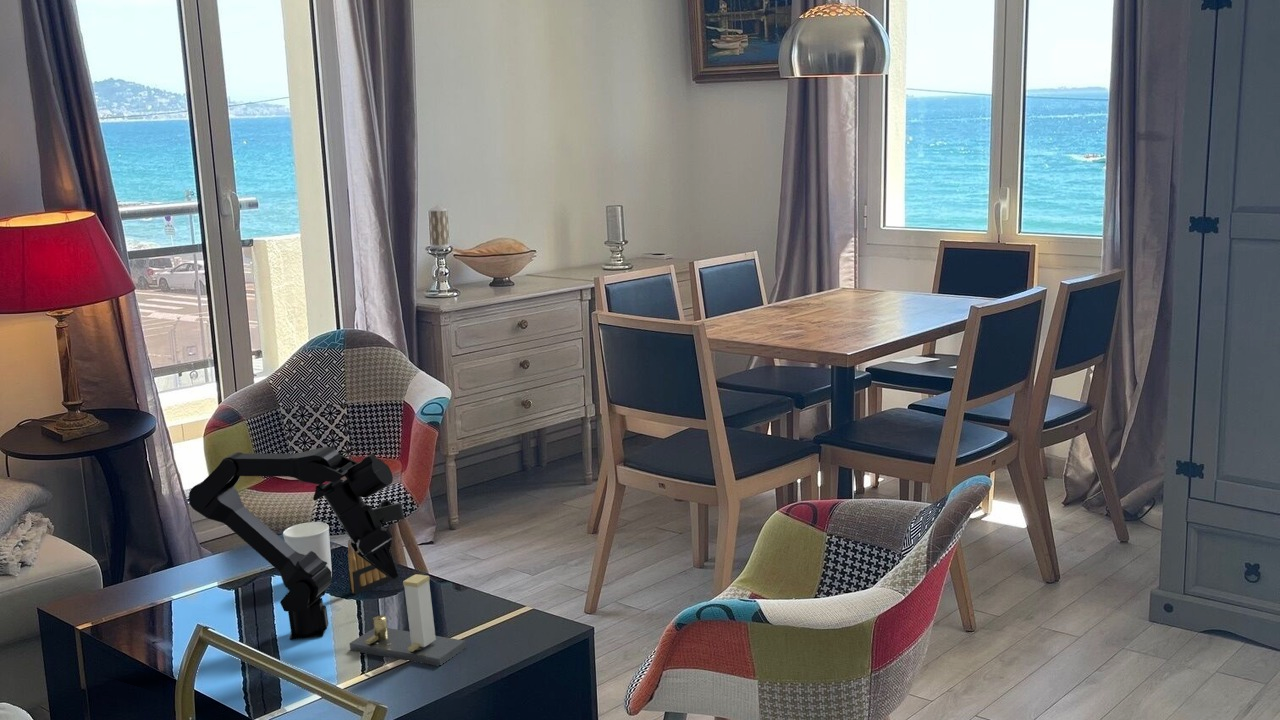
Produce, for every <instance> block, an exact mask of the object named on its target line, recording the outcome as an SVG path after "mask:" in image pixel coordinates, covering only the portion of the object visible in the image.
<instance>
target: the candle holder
mask: <svg viewBox="0 0 1280 720" xmlns="http://www.w3.org/2000/svg"><path fill="white" fill-rule="evenodd" d="M282 536H283V541H284V542H286V543H287V544H288V545H289V546H290V547H291V548H292V549H294V550H295V551H296V552H298V553H300V554H304V555H306V554H308V553H309V552H310V551H313V552H314V553H316V555H317V556H318V557H319V558H320V559H321V560H323V561H325V562H327V563H328V564H327V565H326V566H327V567H328V568H329V569H330V571H331V577H332V576H333V571H332V570H333V569H332V556H331V543H330V542H331V541H330V525H329V524H327V523H326V522H322V521H310V522H303V523H299V524H295V525H292V526H290V527H287V528H286V529H284V530H283V532H282Z"/></svg>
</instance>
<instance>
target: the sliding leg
mask: <svg viewBox="0 0 1280 720" xmlns="http://www.w3.org/2000/svg"><path fill="white" fill-rule="evenodd" d="M430 580H431V579H430V576H429V575H425V574H416V573H415V574H414V575H411V576H410V577H408V578H406V579H405V580H403V581H402V584H403V587H404V595H405V596H404V597H405V602H406V611H407V619H408V629H409V632H410V638H411V646H410V647H408V651H412V652H413V651H414V650H416V649H417V648H419V647H426V646H427V645H428V644H430V643H431V642H433V641H434V640H436V637H435V636H436V629H435V622H434V612H433V604H432V594H431V587H430V586H431V585H430Z"/></svg>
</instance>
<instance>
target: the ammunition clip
mask: <svg viewBox="0 0 1280 720" xmlns="http://www.w3.org/2000/svg"><path fill="white" fill-rule="evenodd" d="M382 527H383V526H382ZM383 528H385V527H383ZM349 542H350V539H348V543H347V553H348V554H347V555H348V556H347V557H348V558H347V561H348V570H347V571H348V582H349V593H350V594H352V595H359V594H361V593H364V592H366V591H368V590H370V589H373V588H376V587H378V586H381V585H384V584H386V583H388V582H391V581H393V580H394V579H393V578H391V577H390V576H386V575H385V574H383V573H382V572H381V571H379V570H378V569H377V568H375V567H374V566H372V565H371V564H370V563H368V562H367V561H366V560H364V559H363V558H362V557H360V556H359V555H357V554H356V553H357V552H358V551H359V549H357V550H358V551H356V552H354V551H353V549H352V548H351V546H350V544H349Z"/></svg>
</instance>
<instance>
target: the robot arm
mask: <svg viewBox="0 0 1280 720" xmlns="http://www.w3.org/2000/svg"><path fill="white" fill-rule="evenodd" d="M241 477H281V478H282V477H288V478H294V479H296V480H298V481H300V482H303V483H308V484H313V485H316V486H315V490H314V494H313V497H312V499H313V501H317V500H320V499H321V498H322V497H324V499H325V500H326V501H327V503H328V505H329V506H330V507H329V508H331V510H332V511H333V513H334V515H335V516H336V518H337V519H338V523H339V524H340V525H341V526H342V527H343V529H344V530H345V532H346V533H347V535H348V537H349V540H350V542H349V544H350V546H351V548H352V549H353V551H354V553H355V552H356V551H358V550H357V549H359V551H358V552H357V553H356V554H357V555H359V556H360V557H362V558H363V559H364V560H366V561H367V562H368V563H370V564H371V565H372V566H374V567H375V568H377V569H378V570H379V571H381V572H382V573H383V574H385V575H386V576H390V577H391V578H393V580H395V579H397V578H399V574H398V570H397V568H396V565H395V562H394V560H393V556H392V554H391V550H390V549H391V545H392V543H393V535H392V533H391V532H390V531H389V529H388V528H387V527H384V528H383V524H385V523H389V522H393V521H402V520H405V514H404V510H403V505H402V503H401V502H398V503H392V502H391V501H390V500H383V501H380V504H379V506H378V507H376V508H372V506H370V504H366V503H365V501H364V500H363V499H364V498H365V499H366V498H367V499H368V498H369V497H371V496H372V495H374V494H377V493H378V492H380V491H382V490H383V489H385V488H387V487H389V486H390V485H392V483H393V481H394V478H393V473H392V469H391V468H390V467H389V465H388V464H386V463H385V461H383V460H381V459H380V458H377V457H376V456H375V454H374V453H371V454H368V455H367V456H366V457H364V458H363V459H362V460H361V461H359V462H358V461H356V460H354V459H353V460H352V459H351V458H349V457H346V456H344V455H342V454H340V453H339V452H338V450H337V449H336V448H334V447H331V446H324V447H323V446H322V447H318V448H313V449H310V450H305V451H303V452H297V453H243V452H234V453H232V454H230V455H228V456H227V457H224V458H223V459H222V460H221V461H220V463H219V464H218V466H217V467H216V468H215V469H214V470H212V472H211V473H210V474H209V475H208V476H206V478H205V479H204V480H203V481H201V482H200V483H197V484H196V485H194V486H193V487H192V488H191V489H190V491H189V492H188V503H189V504H188V505H190V507H191V508H192V510H194V511H195V512H196V513H198V514H200V515H202V516H203V517H205V518H206V519H208V520H211V521H215V522H219V523H222V524H224V525H226V526H227V527H228V528H229V529H230V530H231V531H233V533H235V534H236V535H237V536H238V537H239V538H240V539H241V540H243V541H244V542H245V543H246V544H247V545H249V547H251V548H252V549H253V550H254V551H255V552H256V553H257V554H259V555H260V556H261V557H262V558H263V559H264V560H265V561H267V563H269V564H270V565H271V566H272V567H274V569H276V570H277V571H278V573H279V574H280V577H281V580H282V583H283V586H285V588H286V589H287V591H288V592H287V593H286V594H285V596H283V598H282V599H281V600H280V601H279V604H280V605H281V608H282V609H283V611H284V612H288V620H289V627H290V635H289V637H288V638H289V640H290V641H293V640H303V639H312V638H320V637H323V636H324V634H325V633H326V631H327V629H328V626H329V618H328V617H329V616H328V610H327V609H328V608H327V606H326V604H325V605H324V602H323V598H322V597H323V596H325V595H326V592H327V588H329V587H330V586H331V584H332V581H333V578H332V577H331V571H330V569H329V568H328V567H327V566H326V565H327V564H328V563H327V562H325V561H323V560H321V559H320V558H319V557H318V556H317V555H316V553H314V552H313V551H310V552H309V553H308V554H306V555H304V554H300V553H298V552H296V551H295V550H294V549H292V548H291V547H290V546H289V545H288V544H287V543H286V542H285V540H284V539H282V538H281V537H280V536H279V535H278V534H277V533H275V532H274V531H273V530H272V529H271V528H270V527H268V526H267V525H266V524H265V523H264V522H263V521H262V520H261V519H259V518H258V517H257V516H256V515H255V514H254V513H252V511H250V510H249V509H248V508H246V507H245V505H244V504H243V501H242V499H241V497H240V493H239V492H238V490H237V489H236V488H235V485H236V484H237V483H238V482H239V481H240V479H241ZM344 477H345V479H344V480H343V478H344ZM326 482H327V483H326ZM325 483H326V484H325Z"/></svg>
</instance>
